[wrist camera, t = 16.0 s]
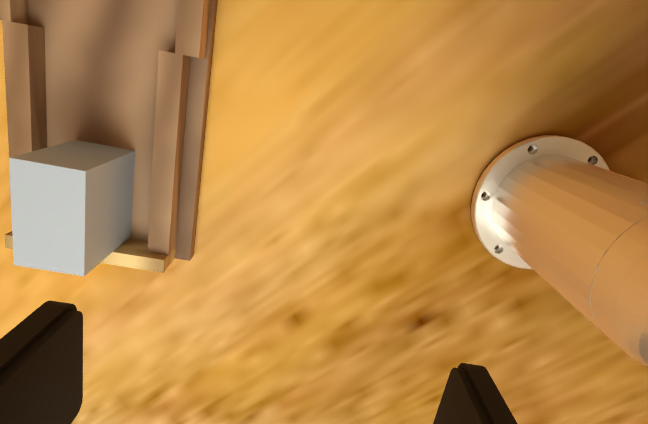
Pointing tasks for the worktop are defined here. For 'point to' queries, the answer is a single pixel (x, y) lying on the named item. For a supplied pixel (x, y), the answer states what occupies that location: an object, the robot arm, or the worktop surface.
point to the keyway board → (118, 101)
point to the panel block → (70, 205)
